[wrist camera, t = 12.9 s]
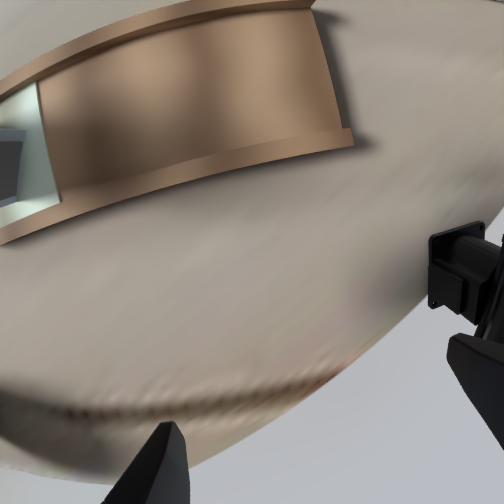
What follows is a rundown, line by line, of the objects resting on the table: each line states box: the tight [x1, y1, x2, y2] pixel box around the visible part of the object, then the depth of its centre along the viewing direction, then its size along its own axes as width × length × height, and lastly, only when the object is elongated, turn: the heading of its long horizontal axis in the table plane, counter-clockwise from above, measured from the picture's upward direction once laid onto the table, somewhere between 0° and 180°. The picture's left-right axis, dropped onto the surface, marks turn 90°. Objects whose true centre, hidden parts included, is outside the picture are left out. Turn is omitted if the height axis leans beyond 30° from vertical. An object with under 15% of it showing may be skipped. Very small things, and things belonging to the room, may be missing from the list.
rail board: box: [0, 0, 354, 245], centre depth 15 cm, size 26×10×3 cm, turn 103°
